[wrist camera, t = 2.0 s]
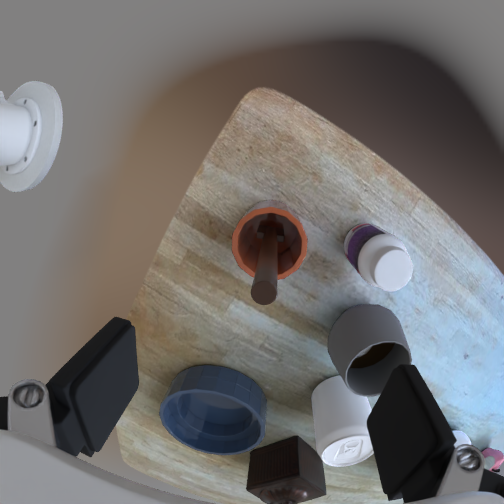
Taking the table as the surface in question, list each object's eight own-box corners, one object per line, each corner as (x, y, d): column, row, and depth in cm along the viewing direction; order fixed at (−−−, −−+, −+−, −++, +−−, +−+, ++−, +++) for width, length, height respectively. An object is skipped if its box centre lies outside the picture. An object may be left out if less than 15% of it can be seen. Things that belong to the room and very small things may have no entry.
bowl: (153, 384, 41) (139, 408, 35) (224, 346, 38) (216, 373, 32) (213, 437, 44) (207, 462, 38) (285, 410, 40) (286, 438, 34)
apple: (493, 438, 42) (506, 461, 32) (498, 444, 43) (510, 465, 33) (466, 460, 44) (477, 484, 35) (473, 464, 45) (483, 486, 36)
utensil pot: (230, 222, 33) (216, 237, 26) (278, 187, 32) (278, 191, 24) (264, 267, 34) (260, 294, 27) (311, 234, 33) (321, 253, 25)
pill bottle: (338, 262, 33) (359, 294, 24) (348, 218, 32) (376, 235, 23) (378, 270, 33) (409, 302, 24) (389, 227, 32) (427, 247, 22)
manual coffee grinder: (245, 451, 44) (234, 531, 27) (298, 434, 42) (300, 522, 24) (287, 482, 47) (285, 549, 29) (334, 467, 44) (342, 538, 27)
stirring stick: (257, 233, 33) (236, 300, 15) (259, 221, 32) (239, 276, 15) (282, 237, 33) (287, 309, 15) (284, 225, 32) (292, 285, 15)
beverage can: (308, 411, 40) (313, 470, 28) (313, 373, 38) (321, 437, 26) (357, 407, 39) (372, 464, 28) (367, 370, 37) (388, 428, 26)
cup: (329, 361, 37) (340, 411, 28) (317, 303, 35) (329, 348, 25) (392, 342, 36) (418, 386, 26) (387, 284, 34) (420, 320, 24)
